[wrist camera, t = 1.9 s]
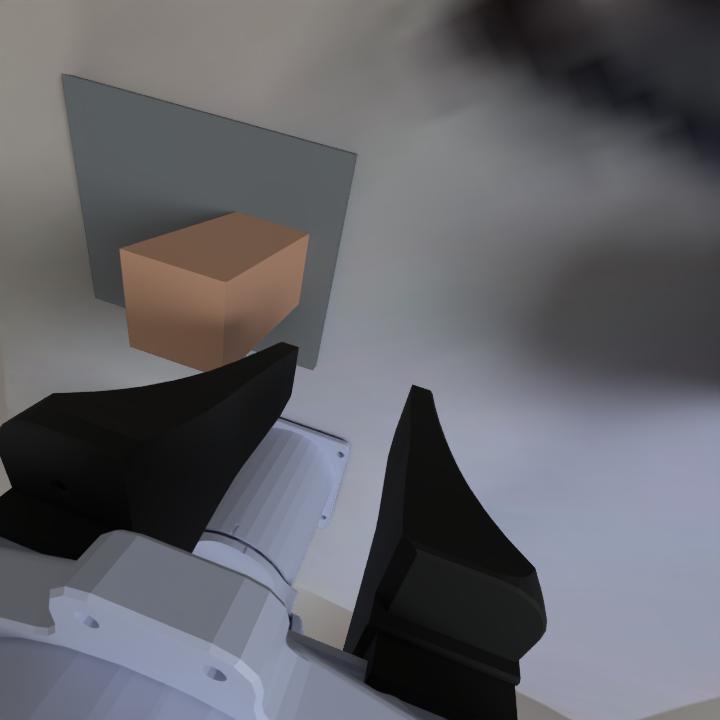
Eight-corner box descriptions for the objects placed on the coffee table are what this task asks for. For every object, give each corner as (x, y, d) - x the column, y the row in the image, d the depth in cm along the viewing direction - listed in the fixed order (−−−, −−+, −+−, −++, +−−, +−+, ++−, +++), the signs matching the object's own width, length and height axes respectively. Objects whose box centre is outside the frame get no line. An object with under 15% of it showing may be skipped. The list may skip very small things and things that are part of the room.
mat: (316, 365, 24) (312, 370, 24) (103, 294, 26) (95, 297, 25) (357, 154, 18) (353, 154, 18) (72, 75, 19) (61, 73, 19)
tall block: (298, 304, 22) (222, 378, 15) (233, 283, 22) (129, 346, 16) (309, 233, 20) (225, 282, 13) (236, 211, 20) (119, 248, 13)
